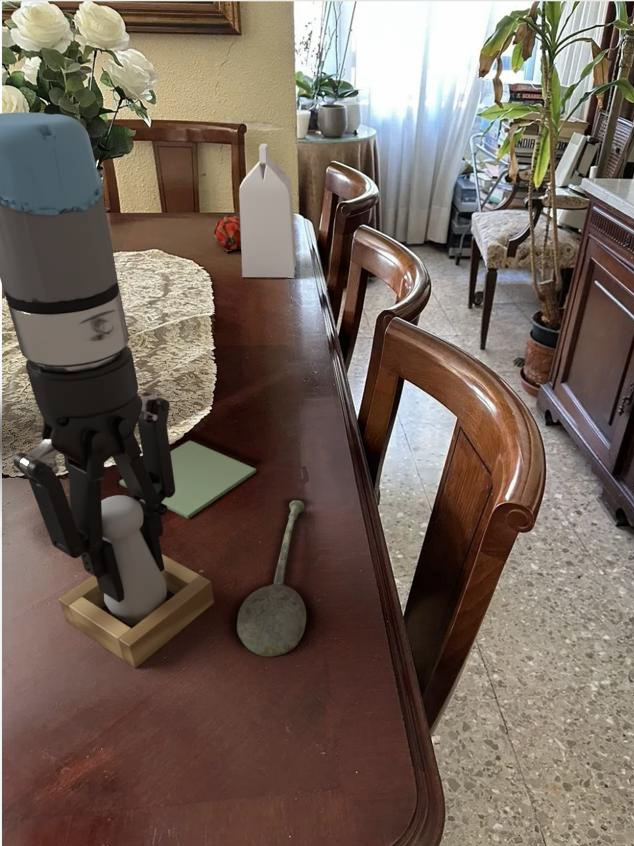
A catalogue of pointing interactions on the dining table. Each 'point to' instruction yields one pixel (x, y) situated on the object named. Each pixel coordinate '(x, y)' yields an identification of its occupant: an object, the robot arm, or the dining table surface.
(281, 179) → the milk
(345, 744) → the dining table surface
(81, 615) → the frame
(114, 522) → the salt shaker
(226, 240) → the dragon fruit
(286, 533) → the soupspoon
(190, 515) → the mat
